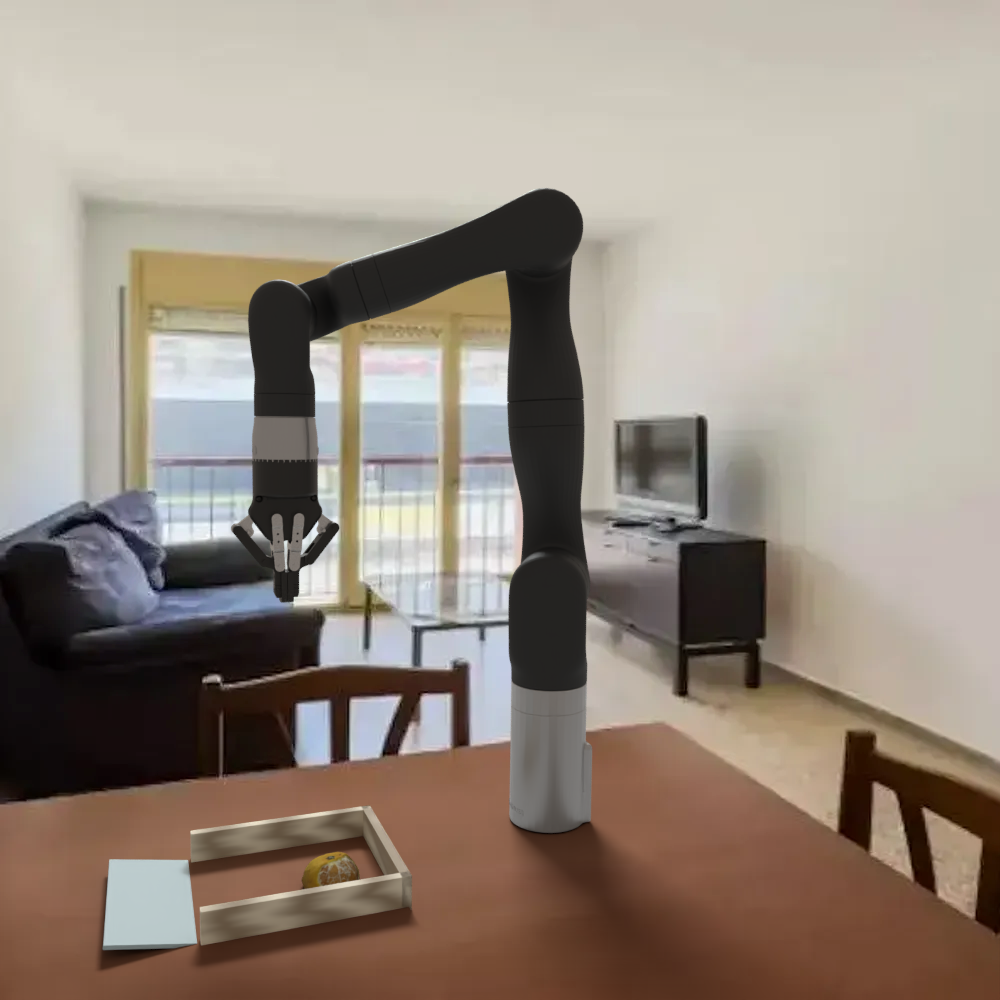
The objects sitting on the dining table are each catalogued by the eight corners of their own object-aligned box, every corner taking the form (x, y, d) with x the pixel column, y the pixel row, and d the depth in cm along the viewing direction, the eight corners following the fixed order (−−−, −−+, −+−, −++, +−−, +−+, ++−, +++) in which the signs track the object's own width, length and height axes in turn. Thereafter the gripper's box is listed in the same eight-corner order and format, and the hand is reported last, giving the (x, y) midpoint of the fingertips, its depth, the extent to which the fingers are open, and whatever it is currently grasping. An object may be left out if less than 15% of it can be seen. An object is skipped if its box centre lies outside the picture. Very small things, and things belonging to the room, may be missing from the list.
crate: (369, 834, 108) (369, 805, 108) (411, 909, 91) (411, 875, 91) (190, 861, 101) (190, 830, 100) (200, 949, 84) (200, 912, 84)
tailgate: (188, 860, 100) (109, 859, 97) (197, 943, 84) (103, 945, 81) (187, 863, 100) (108, 863, 97) (196, 947, 84) (102, 949, 81)
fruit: (334, 926, 88) (334, 889, 88) (280, 897, 94) (280, 862, 93) (395, 892, 95) (395, 858, 95) (341, 867, 100) (341, 835, 100)
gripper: (335, 454, 114) (335, 592, 115) (224, 454, 109) (225, 598, 110) (347, 457, 107) (347, 603, 108) (229, 457, 102) (231, 610, 103)
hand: (286, 601), depth 109 cm, fingers closed
